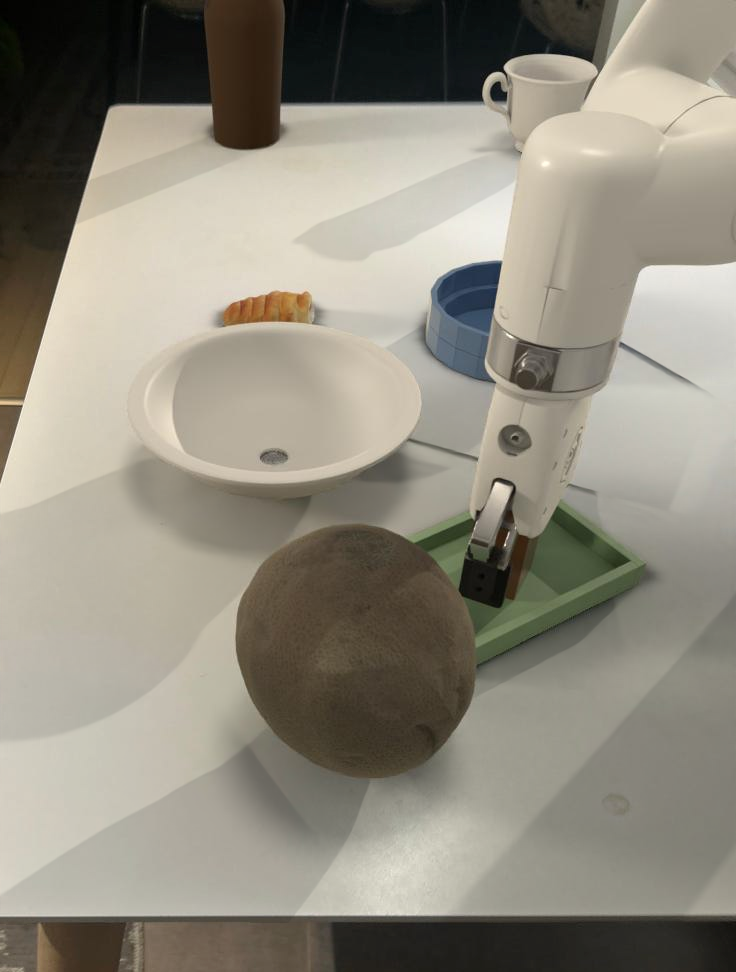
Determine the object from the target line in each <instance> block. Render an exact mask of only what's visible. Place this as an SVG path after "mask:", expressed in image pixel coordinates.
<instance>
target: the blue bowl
mask: <svg viewBox="0 0 736 972" xmlns="http://www.w3.org/2000/svg"><path fill="white" fill-rule="evenodd" d="M502 261H503V260H499V259H496V260H486V261H479V262H471V263H469V264H464V265H462V266H459V267H456V268H453V269H450V270H449V271H447V272H445V273H444V274H442V275H441V276H439V277H438V278H437V279H436V281H435V282H434V284H433V286H432V287H431V289H430V291H429V292H430V293H429V300H428V306H427V307H428V308H427V317H426V324H425V331H424V332H425V343H426V345H427V347H428V349H429V350H430V352H431V353H432V354H433V356H434V358H436V359H437V360H439V361H440V362H441V363H443V364H444V365H446V366H447V367H448V368H450V369H451V370H454V371H456V372H459V373H461V374H463V375H465V376H469V377H471V378H473V379H478V380H483V381H487V382H492V383H493V382H494V383H496V382H495V381H494V380H493V379H492V378H491V377H490V375H489V374H488V372H487V370H486V368H485V357H486V352H487V345H488V340H489V334H490V328H491V322H492V317H493V311H494V308H495V302H496V296H497V290H498V284H499V279H500V273H501V267H502Z"/></svg>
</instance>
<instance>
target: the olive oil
mask: <svg viewBox="0 0 736 972" xmlns="http://www.w3.org/2000/svg"><path fill="white" fill-rule="evenodd" d="M203 9H204V10H203V12H204V13H203V18H204V19H203V21H204V30H205V41H206V42H205V43H206V51H207V53H206V54H207V62H208V75H209V86H210V96H211V112H212V114H211V115H212V127H213V138H214V140H215V142H216V143H217V144H218V145H219V146H223V147H224V148H225V147H226V148H228V149H235V150H257V149H262V148H266V147H269V146H271V145H274V144H276V143H277V142H278V141H279V140H280V135H281V109H282V108H281V106H282V105H281V104H282V79H283V57H284V42H285V41H284V40H285V39H284V38H285V23H286V10H285V4H284V0H205V4H204V8H203Z"/></svg>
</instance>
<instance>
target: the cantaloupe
mask: <svg viewBox="0 0 736 972" xmlns="http://www.w3.org/2000/svg"><path fill="white" fill-rule="evenodd" d="M406 538H407V537H404V536H403V535H401V534H399V533H396V532H394V531H392V530H389V529H387V528H385V527H380V526H377V525H371V524H365V523H344V524H333V525H329V526H328V525H327V526H324V527H321V528H318V529H315V530H313V531H311V532H308V533H306V534H304V535H301V536H299V537H297V538H295V539H292V540H290V541H289V542H287V543H285V544H283V546H280V547H279V548H278V549H276V550H275V551H274V552H272V553H271V554H270V555H269V556H268V557H267V558H266V559H265V560H264V561H263V562H262V563H261V564H260V565H259V566H258V568H257V569H256V572H255V573H254V575H253V577H252V579H251V580H250V582H249V585H248V586H247V587H246V589H245V590H244V592H243V593H242V595H241V598H240V600H239V604H238V607H237V611H236V621H235V634H234V635H235V638H234V639H235V655H236V659H237V664H238V666H239V667H238V668H239V670H240V674H241V676H242V679H243V682H244V686H245V688H246V691H247V693H248V695H249V698H250V700H251V702H252V704H253V706H254V707H255V709H256V710H257V712H258V714H259V716H260V717H261V718H262V719H263V721H264V722H265V723H266V724H267V726H268V727H269V728H270V730H271V732H273V734H274V735H275V736H276V737H277V738H278V739H279V740H281V741H282V742H283V743H284V744H285V745H286V746H287V747H289V748H290V749H291V750H292V751H293V752H295V753H297V754H298V755H299V756H301V757H303V758H304V759H306V760H307V761H309V762H310V763H312V764H314V765H316V766H318V767H321V768H323V769H324V770H327V771H331V772H333V773H337V774H340V775H343V776H347V777H351V778H357V779H375V780H376V779H377V780H378V779H387V778H392V777H395V776H399V775H402V774H404V773H407V772H409V771H411V770H414V769H416V768H418V767H420V766H422V765H423V764H425V763H426V762H427V761H429V760H431V759H432V757H434V756H435V755H436V754H437V752H439V750H440V749H441V748H442V747H443V746H444V745H445V743H447V741H448V740H449V739H450V738H451V736H452V734H453V733H454V732H455V731H456V729H458V726H459V725H460V724H461V722H462V720H463V718H464V717H465V716H466V713H467V711H468V710H469V708H470V706H471V703H472V700H473V696H474V692H475V688H476V679H477V666H476V644H475V631H474V627H473V623H472V620H471V617H470V614H469V611H468V608H467V606H466V604H465V602H464V600H463V598H462V596H461V594H460V592H459V591H458V589H457V588H456V587H455V585H454V584H453V582H452V581H451V580H450V578H449V577H448V575H447V574H446V573H445V572H444V571H443V569H442V568H441V567H440V566H439V565H438V563H437V562H436V561H435V560H434V559H433V558H432V557H431V556H430V555H429V554H428V553H427V552H426V551H425V550H423V549H422V548H421V547H419V546H418V545H416V544H415V543H413V542H411V541H410V540H408V539H406Z"/></svg>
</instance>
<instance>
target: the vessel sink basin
mask: <svg viewBox="0 0 736 972" xmlns="http://www.w3.org/2000/svg"><path fill="white" fill-rule="evenodd" d="M422 406H423V403H422V394H421V390H420V387H419V384H418V381H417V380H416V378H415V376H414V374H413V373H412V371H411V370H410V369H409V368H408V366H407V364H405V363H404V362H403V361H402V360H401V359H400V358H399V357H398V356H396V355H395V354H393V353H392V352H391V351H389V350H388V349H386V348H385V347H383V346H381V345H379V344H377V343H375V342H373V341H371V340H370V339H368V338H365V337H362V336H360V335H357V334H354V333H351V332H348V331H345V330H341V329H338V328H334V327H329V326H325V325H319V324H313V323H312V324H306V323H294V322H257V323H246V324H238V325H232V326H226V327H225V326H222V327H217V328H213V329H209V330H206V331H203V332H200V333H196V334H194V335H191V336H189V337H186V338H184V339H181V340H179V341H177V342H175V343H173V344H172V345H169V346H168V347H166V348H164V349H163V350H161V351H160V352H158V353H157V354H156V355H154V356H153V357H152V358H151V359H149V360H148V361H147V362H146V363H145V364H144V365H143V367H142V368H141V369H139V371H138V373H137V374H136V375H135V377H134V379H133V380H132V382H131V384H130V386H129V389H128V393H127V399H126V412H127V413H126V414H127V417H128V421H129V423H130V426H131V428H132V430H133V431H134V433H135V435H136V437H137V438H138V440H140V442H141V443H142V445H144V446H145V447H146V448H147V449H148V450H149V451H150V452H151V453H152V454H154V455H155V456H156V457H158V458H159V459H161V460H162V461H164V462H165V463H167V464H169V465H170V466H173V467H175V468H177V469H178V470H180V471H183V472H184V473H186V474H187V475H189V477H192V478H194V479H195V480H197V481H199V482H200V483H202V484H204V485H206V486H208V487H210V488H213V489H214V490H218V491H221V492H224V493H227V494H229V495H234V496H238V497H243V498H248V499H255V500H257V499H258V500H290V499H292V500H293V499H298V498H303V497H309V496H313V495H317V494H320V493H323V492H326V491H329V490H332V489H335V488H337V487H338V486H342V485H343V484H345V483H347V482H349V481H350V480H352V479H354V478H355V477H357V476H358V475H360V474H361V473H363V472H364V471H366V470H368V469H370V468H372V467H374V466H376V465H378V464H380V463H381V462H383V461H385V460H386V459H388V458H389V457H390V456H392V455H393V454H394V453H396V452H397V451H398V450H399V449H400V448H402V446H403V445H404V444H405V443H406V442H407V441H408V440H409V438H410V437H411V436H412V434H413V433H414V431H415V430H416V427H417V425H418V423H419V421H420V417H421V414H422V408H423V407H422ZM269 452H280V453H283V454H285V456H286V457H287V460H286V461H284V462H283V463H281V464H273V465H272V464H267V463H265V462H264V461H262V460H261V457H262V455H263V454H265V453H269Z"/></svg>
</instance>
